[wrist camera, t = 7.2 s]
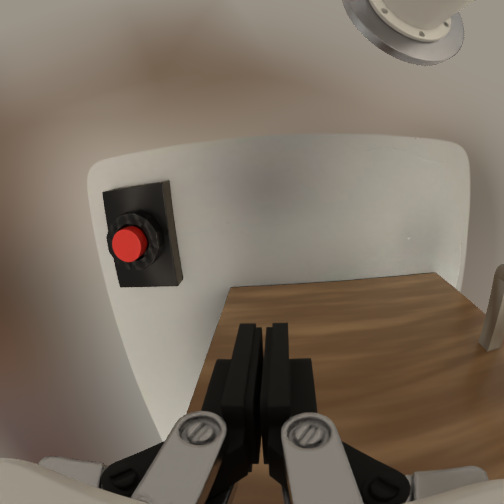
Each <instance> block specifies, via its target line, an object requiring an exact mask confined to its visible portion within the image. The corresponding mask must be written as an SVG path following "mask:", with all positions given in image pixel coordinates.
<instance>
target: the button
mask: <svg viewBox="0 0 504 504" xmlns="http://www.w3.org/2000/svg"><path fill="white" fill-rule="evenodd" d="M112 247H113V250H114V253H115V254H116V256H117V257H118V258H119V259H121V260H122V261H125V262H132V261H135V260H136V259H137V258H139V257H140V256H141V255H143V254H144V252H145V251H146V248H147V239H146V236H145V234H144V233H143V231H142V230H141V229H139V228H137V227H135V226H128V227H126V228H124V229H122V230H120V231H118V232H117V233H116V234H115V235H114V237H113V240H112Z"/></svg>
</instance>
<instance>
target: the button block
mask: <svg viewBox="0 0 504 504" xmlns="http://www.w3.org/2000/svg"><path fill="white" fill-rule="evenodd" d="M103 200H104V207H105V214H106V220H107V226H108V234H107V243H108V248H109V252H110V254H111V255H112V257H113V258H114V262H115V267H116V271H117V276H118V280H119V284H120V287H156V286H178V285H179V284H180V282H181V281H182V280H183V276H182V270H181V264H180V258H179V251H178V245H177V238H176V231H175V224H174V217H173V209H172V201H171V193H170V185H169V181H164V182H157V183H151V184H144V185H138V186H132V187H126V188H120V189H114V190H109V191H105V192H103ZM128 226H135V227H137V228H139V229H141V230H142V231H143V233H144V234H145V236H146V239H147V248H146V251H145V252H144V254H143V255H141V256H140V257H139V258H137V259H136V260H135V261H132V262H125V261H122V260H121V259H119V258H118V257H117V256H116V254H115V253H114V250H113V247H112V240H113V237H114V235H115V234H116V233H117V232H118V231H120V230H122V229H124V228H126V227H128Z"/></svg>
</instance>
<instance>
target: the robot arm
mask: <svg viewBox="0 0 504 504" xmlns="http://www.w3.org/2000/svg"><path fill="white" fill-rule="evenodd" d="M473 1H474V0H369V2H370V4H371V6H372V8H373V9H374V11H375V12H376V13H377V15H378V16H379V17H380V18H381V19H382V20H383V21H384V22H385V23H386V24H388V25H389V26H390V27H391V28H393V29H394V30H396V31H397V32H399V33H401V34H403V35H404V36H406V37H409V38H411V39H414V40H418V41H422V42H433V41H437V40H439V39H441V38H443V37H444V36H446V34H447V33H448V32H449V30H450V27H451V17H452V16H453V15H454V14H456V13H457V12H459V11H460V10H461V9H463V8H464V7H466V6H467V5H469V4H470V3H471V2H473ZM261 436H262V447H263V459H264V464H269V476H271V477H272V478H273V479H274V480H276V481H277V482H278V483H279V484H281V492H282V499H283V504H504V479H496V480H489V478H488V476H487V473H486V472H485V471H484V470H483V469H482V468H480V467H477V466H465V467H458V468H451V469H442V470H431V471H417V472H414V473H413V474H412V475H404V474H402V473H401V472H399V471H398V470H396V469H394V468H392V467H390V466H388V465H386V464H384V463H382V462H380V461H378V460H376V459H374V458H372V457H370V456H368V455H366V454H365V453H363V452H361V451H359V450H357V449H355V448H354V447H352V446H350V445H348V444H346V443H345V442H343V441H341V439H340V436H339V433H338V431H337V428H336V426H335V424H334V423H333V421H332V420H331V419H329V418H328V417H327V416H324V415H322V414H319V413H318V412H317V403H316V394H315V385H314V377H313V369H312V361H311V358H297V359H289V337H288V322H287V323H272V327H266V337H265V349H264V354H263V337H262V327H256V323H240V325H239V329H238V333H237V337H236V341H235V345H234V350H233V354H232V358H231V359H217V360H216V363H215V366H214V369H213V372H212V376H211V379H210V382H209V385H208V389H207V392H206V395H205V399H204V402H203V405H202V408H201V411H196V412H191V413H189V414H186V415H184V416H183V417H181V418H180V419H179V420H178V421H177V422H176V423H175V425H174V427H173V428H172V430H171V432H170V434H169V435H168V437H167V439H166V440H165V441H164V442H161V443H159V444H157V445H155V446H153V447H151V448H148V449H146V450H144V451H141V452H139V453H137V454H134V455H132V456H130V457H127V458H125V459H122V460H120V461H117V462H115V463H113V464H111V465H110V466H105V465H104V463H101V462H92V461H84V460H77V459H70V458H63V457H58V456H48V457H45V458H43V459H42V460H41V461H40V462H39V464H35V463H31V462H28V461H23V460H17V459H9V458H0V504H232V502H233V499H234V496H235V493H236V490H237V488H238V482H239V480H241V479H242V478H244V477H246V476H247V475H248V472H252V465H253V464H259V458H260V447H261Z"/></svg>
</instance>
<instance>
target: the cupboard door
mask: <svg viewBox="0 0 504 504" xmlns="http://www.w3.org/2000/svg"><path fill="white" fill-rule="evenodd" d="M287 322H288V337H289V359H297V358H311V361H312V369H313V377H314V385H315V394H316V403H317V412H318V413H319V414H322V415H324V416H327V417H328V418H329V419H331V420H332V421H333V423H334V424H335V426H336V428H337V431H338V433H339V436H340V439H341V441H343V442H345V443H346V444H348V445H350V446H352V447H354V448H355V449H357V450H359V451H361V452H363V453H365V454H366V455H368V456H370V457H372V458H374V459H376V460H378V461H380V462H382V463H384V464H386V465H388V466H390V467H392V468H394V469H396V470H398V471H399V472H401V473H402V474H404V475H412V474H413V473H414V472H417V471H431V470H442V469H451V468H458V467H465V466H477V467H480V468H482V469H483V470H484V471H485V472H486V473H487V476H488V478H489V480H496V479H504V264H501V265H500V266H499V267H498V268H497V269H496V272H495V275H494V280H493V285H492V290H491V295H490V300H489V305H488V308H487V313H486V314H484V313H483V312H482V311H481V310H480V309H479V308H478V307H476V306H475V305H474V304H473V303H472V302H471V301H470V300H468V299H467V298H466V297H465V296H464V295H462V294H461V293H460V292H459V291H458V290H456V289H455V288H454V287H453V286H452V285H450V284H449V283H448V282H447V281H445V280H444V279H443V278H442V277H440V276H439V275H438V274H437V273H426V274H416V275H405V276H395V277H383V278H372V279H360V280H347V281H334V282H320V283H305V284H288V285H271V286H252V287H231V288H230V291H229V294H228V296H227V299H226V302H225V305H224V308H223V311H222V313H221V316H220V319H219V322H218V325H217V328H216V330H215V333H214V336H213V339H212V342H211V345H210V348H209V350H208V353H207V356H206V359H205V362H204V365H203V368H202V371H201V373H200V376H199V379H198V382H197V385H196V388H195V391H194V394H193V397H192V399H191V402H190V405H189V408H188V411H187V414H189V413H191V412H196V411H201V408H202V405H203V402H204V399H205V395H206V392H207V389H208V385H209V382H210V379H211V376H212V372H213V369H214V366H215V363H216V360H217V359H231V358H232V354H233V350H234V345H235V341H236V337H237V333H238V329H239V325H240V323H256V327H262V337H263V354H264V349H265V337H266V327H272V323H287ZM232 504H283V499H282V492H281V484H279V483H278V482H277V481H276V480H274V479H273V478H272V477H271V476H269V464H264V459H263V447H262V436H261V447H260V458H259V464H253V465H252V472H248V475H247V476H246V477H244V478H242V479H241V480H239V482H238V488H237V490H236V493H235V496H234V499H233V502H232Z"/></svg>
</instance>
